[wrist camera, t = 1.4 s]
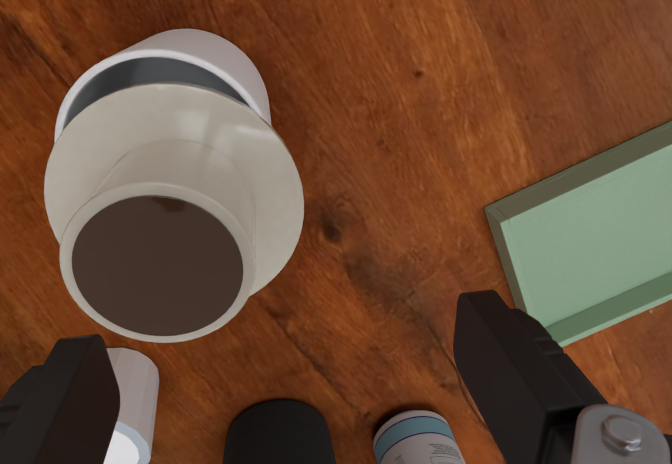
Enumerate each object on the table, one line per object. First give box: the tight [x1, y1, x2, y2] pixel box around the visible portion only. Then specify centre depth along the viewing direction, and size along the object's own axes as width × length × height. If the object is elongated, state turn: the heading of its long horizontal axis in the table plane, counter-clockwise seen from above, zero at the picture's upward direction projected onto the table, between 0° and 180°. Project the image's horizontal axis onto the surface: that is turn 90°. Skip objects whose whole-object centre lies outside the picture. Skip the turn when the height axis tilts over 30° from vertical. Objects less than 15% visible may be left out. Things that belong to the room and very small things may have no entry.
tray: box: [484, 120, 672, 347], centre depth 35 cm, size 17×13×3 cm
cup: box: [55, 29, 271, 143], centre depth 24 cm, size 8×12×10 cm
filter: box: [44, 81, 304, 343], centre depth 18 cm, size 10×10×5 cm
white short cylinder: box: [103, 347, 159, 464], centre depth 33 cm, size 7×7×7 cm
